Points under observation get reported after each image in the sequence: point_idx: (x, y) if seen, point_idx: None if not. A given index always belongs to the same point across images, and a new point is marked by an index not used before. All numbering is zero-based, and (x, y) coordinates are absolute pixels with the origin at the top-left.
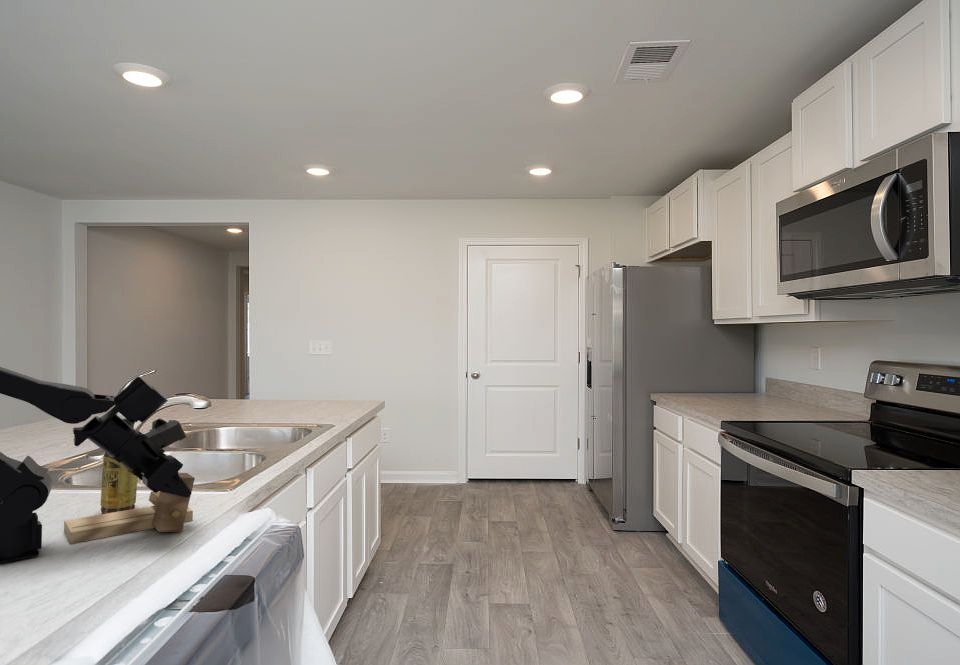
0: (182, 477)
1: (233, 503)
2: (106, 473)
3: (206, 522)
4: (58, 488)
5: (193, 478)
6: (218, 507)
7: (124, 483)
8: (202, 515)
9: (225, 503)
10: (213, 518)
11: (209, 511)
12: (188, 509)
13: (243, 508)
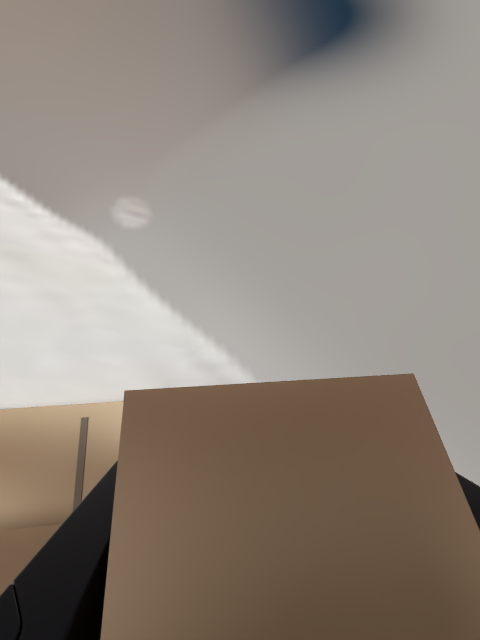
0: (469, 515)
1: (35, 218)
2: None
3: (220, 364)
4: None
5: (415, 387)
6: (45, 274)
7: None
8: (112, 354)
9: (10, 239)
10: (183, 329)
11: (74, 317)
12: (120, 413)
13: (129, 212)
